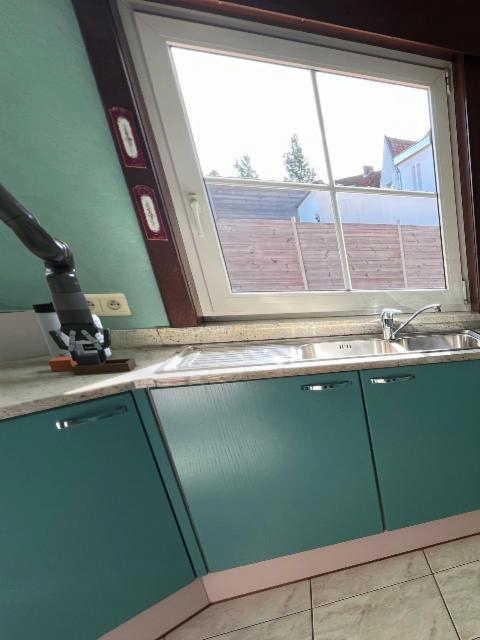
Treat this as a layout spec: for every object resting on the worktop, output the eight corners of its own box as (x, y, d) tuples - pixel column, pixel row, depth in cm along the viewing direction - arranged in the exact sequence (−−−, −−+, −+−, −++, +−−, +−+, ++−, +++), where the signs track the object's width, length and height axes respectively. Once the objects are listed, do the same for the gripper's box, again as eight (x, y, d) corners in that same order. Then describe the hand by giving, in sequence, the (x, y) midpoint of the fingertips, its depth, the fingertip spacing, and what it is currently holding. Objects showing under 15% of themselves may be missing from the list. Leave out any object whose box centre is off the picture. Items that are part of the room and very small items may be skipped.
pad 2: (79, 368, 154) (74, 357, 153) (85, 364, 159) (80, 353, 158) (100, 366, 157) (96, 355, 155) (105, 362, 161) (101, 352, 160)
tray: (74, 374, 153) (71, 366, 152) (83, 369, 160) (80, 361, 159) (130, 371, 159) (127, 363, 158) (136, 365, 167) (134, 358, 166)
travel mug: (68, 364, 166) (45, 302, 158) (48, 363, 166) (24, 302, 158) (86, 360, 172) (64, 301, 164) (67, 359, 171) (44, 300, 164)
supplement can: (91, 355, 179) (76, 313, 174) (117, 355, 181) (103, 313, 175) (74, 359, 172) (57, 315, 166) (101, 359, 173) (86, 316, 168)
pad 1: (52, 372, 155) (47, 361, 154) (58, 368, 160) (54, 357, 159) (73, 370, 158) (69, 359, 157) (79, 366, 163) (75, 356, 161)
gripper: (34, 309, 144) (56, 366, 151) (100, 308, 152) (118, 362, 158) (43, 306, 150) (64, 361, 157) (106, 305, 157) (123, 358, 164)
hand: (91, 361), depth 157 cm, fingers closed on pad 2, 5 cm apart
